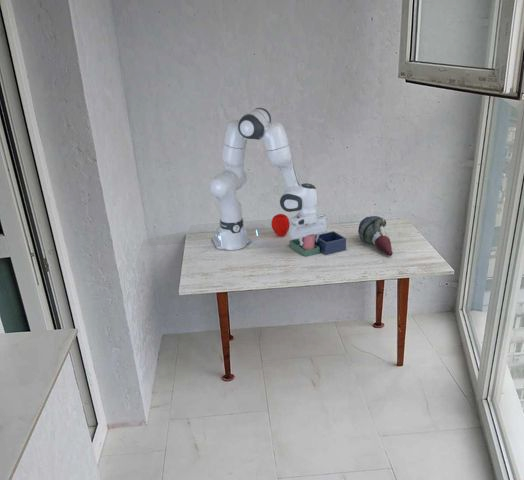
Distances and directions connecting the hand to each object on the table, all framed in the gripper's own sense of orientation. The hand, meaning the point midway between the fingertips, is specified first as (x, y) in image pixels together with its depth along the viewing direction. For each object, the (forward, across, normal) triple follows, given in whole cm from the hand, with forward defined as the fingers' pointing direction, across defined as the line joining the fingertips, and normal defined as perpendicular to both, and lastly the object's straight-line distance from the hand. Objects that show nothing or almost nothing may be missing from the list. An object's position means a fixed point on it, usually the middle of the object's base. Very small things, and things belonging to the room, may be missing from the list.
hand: (308, 243), depth 285 cm
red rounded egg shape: (+4, +2, -28) cm, 28 cm away
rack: (+4, 0, -4) cm, 6 cm away
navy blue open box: (+5, -12, +2) cm, 13 cm away
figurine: (+5, -36, +13) cm, 39 cm away
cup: (+4, 0, 0) cm, 5 cm away
